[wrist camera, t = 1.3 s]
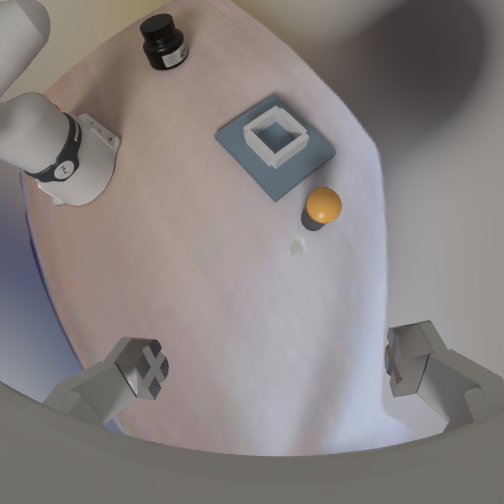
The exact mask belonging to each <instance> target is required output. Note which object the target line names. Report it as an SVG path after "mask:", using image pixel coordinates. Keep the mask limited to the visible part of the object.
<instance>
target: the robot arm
mask: <svg viewBox="0 0 504 504" xmlns="http://www.w3.org/2000/svg"><path fill="white" fill-rule="evenodd" d="M49 34H50V18H49V15H48V12H47V10H46V9H45V7H44V6H43V5H42V4H41V3H40V2H38V1H36V0H8V1H4V2H0V97H1V96H2V95H3V94H4V92H5V91H6V90H7V89H8V88H9V87H10V85H12V83H13V82H14V81H15V80H16V79H17V78H18V77H19V76H20V75H21V74H22V73H23V72H24V71H25V70H26V68H27V67H28V66H29V64H30V63H31V62H32V60H33V59H34V58H35V57H36V56H37V54H38V53H39V52H40V50H41V49H42V48H43V47H44V46H45V44H46V43H47V41H48V38H49ZM120 143H121V140H120V139H119V138H118V137H117V136H115V135H114V134H113V133H112V132H110V131H109V130H108V129H106V128H105V127H104V126H103V125H101V124H100V123H99V122H97V121H96V120H95V119H93V118H92V117H91V116H89V115H88V114H87V113H84V114H81V115H79V116H76V115H75V114H73V113H68V114H67V113H64V112H61V111H60V109H59V107H58V106H57V105H54V104H53V103H52V102H51V101H50V100H49V99H48V98H47V97H46V96H45V95H43V94H40V93H35V92H29V93H24V94H21V95H19V96H17V97H15V98H13V99H11V100H9V101H7V102H4V103H0V159H1V160H4V161H6V162H9V163H11V164H14V165H15V166H18V167H20V168H21V169H23V170H24V171H25V173H26V174H28V175H29V176H30V177H31V178H33V179H35V180H37V182H38V187H39V188H40V189H42V190H43V191H45V192H46V193H48V194H50V195H51V196H52V200H53V203H55V204H56V205H62V204H65V203H67V204H71V205H84V204H86V203H89V202H90V201H92V200H94V199H95V198H96V197H97V196H98V195H99V194H100V193H101V192H102V191H103V190H104V189H105V187H106V186H107V184H108V182H109V181H110V179H111V176H112V174H113V170H114V166H115V156H116V153H117V151H118V148H119V146H120ZM387 339H388V341H389V344H388V345H387V346H386V348H385V368H386V371H387V374H389V375H390V376H391V379H390V386H391V390H392V394H393V397H398V396H405V395H410V394H416V393H417V395H418V396H419V397H420V398H421V399H422V400H423V401H424V402H426V403H427V404H428V405H429V406H430V407H431V408H432V409H433V410H434V411H435V412H437V413H438V414H439V415H440V416H441V417H442V418H443V419H444V420H445V421H446V422H447V423H448V424H447V426H446V428H445V429H444V431H443V433H440V434H437V435H434V436H430V437H426V438H422V439H419V440H415V441H410V442H406V443H402V444H397V445H392V446H387V447H382V448H376V449H370V450H363V451H356V452H348V453H339V454H328V455H313V456H251V455H236V454H225V453H215V452H207V451H200V450H193V449H187V448H181V447H175V446H170V445H165V444H161V443H156V442H152V441H147V440H143V439H139V438H135V437H132V436H128V435H124V434H121V433H118V432H114V431H111V430H109V429H108V428H107V427H106V426H105V425H104V424H105V423H107V422H108V421H109V420H110V419H112V418H113V417H114V416H116V415H117V414H118V413H119V412H121V411H122V410H123V409H124V408H126V407H127V406H128V405H129V404H131V403H132V402H133V401H134V400H136V399H137V398H142V399H150V400H155V399H156V397H157V395H158V393H159V391H160V389H161V386H160V383H161V382H162V381H164V380H165V379H166V377H167V375H168V370H169V365H168V361H167V358H166V356H165V355H163V354H162V353H161V352H160V351H161V348H162V347H161V345H160V343H159V341H158V340H155V339H145V338H131V337H123V338H121V339H120V341H119V342H118V343H117V344H116V346H115V347H114V348H113V350H112V351H111V352H110V353H109V355H108V356H107V357H106V359H105V360H104V361H103V362H98V363H97V364H95V365H93V366H91V367H89V368H87V369H85V370H84V371H82V372H80V373H78V374H76V375H74V376H72V377H71V378H69V379H67V380H65V381H63V382H61V383H59V384H57V385H56V386H55V388H54V389H53V390H52V392H51V393H50V394H49V395H48V397H47V398H46V399H45V401H44V402H43V403H40V402H38V401H36V400H34V399H32V398H30V397H28V396H26V395H24V394H22V393H20V392H19V391H17V390H15V389H13V388H11V387H10V386H8V385H6V384H5V383H3V382H1V381H0V504H504V380H503V379H502V377H501V376H499V375H497V374H495V373H493V372H492V371H490V370H488V369H486V368H484V367H483V366H481V365H479V364H477V363H475V362H474V361H472V360H470V359H468V358H466V357H465V356H463V355H461V354H459V353H457V352H456V351H454V350H452V349H451V350H448V349H447V348H446V346H445V344H444V342H443V341H442V339H441V337H440V335H439V334H438V332H437V330H436V329H435V327H434V325H433V324H432V322H431V321H430V320H428V321H423V322H418V323H415V324H409V325H403V326H397V327H391V328H389V330H388V333H387Z"/></svg>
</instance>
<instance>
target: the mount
mask: <svg viewBox="0 0 504 504" xmlns="http://www.w3.org/2000/svg"><path fill="white" fill-rule="evenodd" d="M214 136H215V139H216V140H217V141H218V142H219V143H220V144H221V145H222V146H223V147H224V148H225V149H226V150H227V151H228V152H229V153H230V154H231V155H232V156H233V158H234V159H235V160H236V161H237V162H238V163H239V164H240V165H241V166H242V167H243V168H244V169H245V170H246V171H247V172H248V173H249V175H250V176H251V177H252V178H253V179H254V180H255V181H256V182H257V183H258V184H259V185H260V186H261V188H262V189H263V190H264V191H265V192H266V193H267V194H268V195H269V196H270V197H271V199H272V200H273V201H274V202H277V201H278V200H279V199H280V198H282V197H283V196H284V195H285V194H287V193H288V192H289V191H290V190H292V189H293V188H294V187H295V186H297V185H298V184H299V183H300V182H302V181H303V180H304V179H305V178H307V177H308V176H309V175H310V174H312V173H313V172H314V171H315V170H317V169H318V168H319V167H320V166H322V165H323V164H324V163H325V162H327V161H328V160H329V159H331V158H332V157H333V156H334V155H335V153H336V151H335V150H334V149H333V148H332V147H331V146H330V145H329V144H328V143H327V142H326V141H325V140H324V139H323V138H322V137H321V136H320V135H319V134H318V133H317V132H315V131H314V130H313V129H312V128H311V127H310V126H309V125H308V124H307V123H306V122H305V121H304V120H303V119H302V118H301V117H299V116H298V115H297V114H296V113H295V112H294V111H293V110H292V109H290V108H289V107H288V106H287V105H286V104H285V103H284V102H282V101H281V100H280V99H279V98H278V97H277V96H275V95H273V96H271V97H270V98H268V99H266V100H265V101H263V102H262V103H260V104H259V105H257V106H255V107H254V108H252V109H251V110H249V111H248V112H246V113H245V114H243V115H242V116H240V117H239V118H237V119H236V120H234V121H233V122H231V123H230V124H229V125H227V126H226V127H224V128H223V129H221V130H220V131H219V132H217V133H216V134H214Z"/></svg>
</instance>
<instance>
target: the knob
mask: <svg viewBox="0 0 504 504" xmlns="http://www.w3.org/2000/svg"><path fill="white" fill-rule="evenodd" d="M341 209H342V204H341V200H340V198H339V196H338V195H337V194H336V193H335V192H334V191H333V190H331V189H329V188H318V189H315V190H314V191H312V192H311V194H310V195H309V197H308V199H307V201H306V208H305V209H304V211H303V213H302V215H301V221H302V224H303V226H304V227H305V228H306V229H308V230H311V231H317V230H319V229H321V228H322V227H323V226H324V225H325V224H326V223H330V222H332V221H333V220H335V219H336V218H337V217H338V216H339V214H340V212H341Z"/></svg>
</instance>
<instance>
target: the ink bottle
mask: <svg viewBox="0 0 504 504" xmlns="http://www.w3.org/2000/svg"><path fill="white" fill-rule="evenodd" d="M140 31H141V33H142V35H143V37H144V39H145V42H144V44H143V49H144V52H145V54H146V56H147V58H148V60H149V62H150V65H151V66H152V67H153V68H154V69H156V70H169V69H172V68H175V67H177V66H179V65H180V64H181V63H182V62H183V61H184V60H185V59H186V57H187V55H188V50H187V47H186V43H185V40H184V37H183V34H182V32H181V31H180V30H178V29H176V28H175V24H174V21H173V18H172V16H171V15H170V14H158V15H155V16H152V17H150V18H148V19H147V20H145V21H144V22H143V23H142V24H141V26H140Z"/></svg>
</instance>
